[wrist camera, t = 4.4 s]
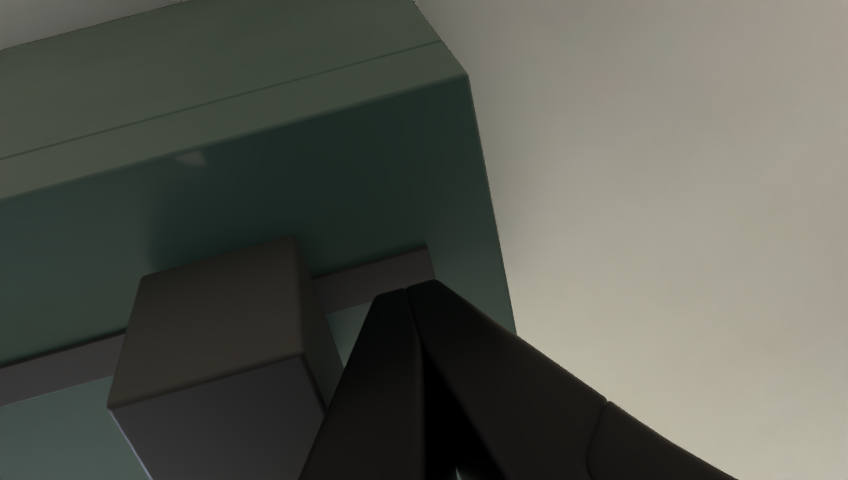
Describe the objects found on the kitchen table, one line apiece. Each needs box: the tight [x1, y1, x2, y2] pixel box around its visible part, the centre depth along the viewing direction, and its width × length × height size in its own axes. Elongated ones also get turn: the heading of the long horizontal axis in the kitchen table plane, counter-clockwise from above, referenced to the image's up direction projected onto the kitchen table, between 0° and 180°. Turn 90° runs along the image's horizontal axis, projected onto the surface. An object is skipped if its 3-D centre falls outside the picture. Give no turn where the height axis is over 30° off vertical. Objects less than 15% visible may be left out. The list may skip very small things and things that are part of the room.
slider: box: [106, 235, 344, 480], centre depth 9 cm, size 2×2×2 cm
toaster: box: [0, 0, 517, 480], centre depth 15 cm, size 18×10×9 cm, turn 101°
